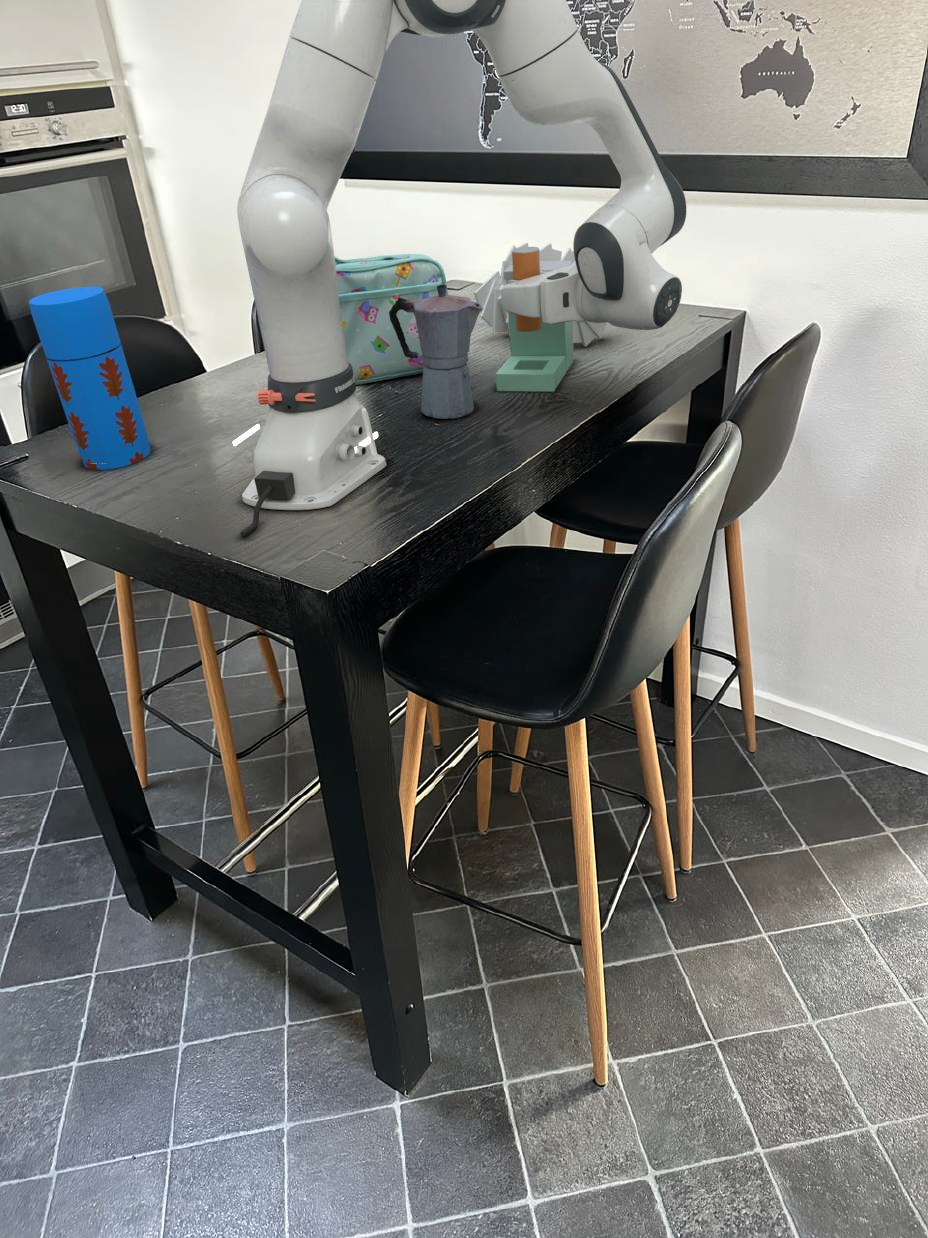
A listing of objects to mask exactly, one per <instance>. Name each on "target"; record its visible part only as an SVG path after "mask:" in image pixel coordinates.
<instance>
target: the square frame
mask: <svg viewBox="0 0 928 1238" xmlns="http://www.w3.org/2000/svg"><path fill="white" fill-rule="evenodd" d="M566 373H567V372H566V356H511V355H510V356H509V357H508V358H507V360H505V362H504V363H503V364H502V365H501V367H500V368H499V369H498V370H497V371H496V373H495V385H496V387H495V388H496V392H539V393H540V392H542V393H544V392H545V393H546V392H549V393H551V392H553V393H554V392H555V391H556V389H557V387H558V386H559V385H560V383H561V381H562V380H563V378H564V377H565V375H566Z"/></svg>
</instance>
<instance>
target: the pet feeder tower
mask: <svg viewBox="0 0 928 1238" xmlns="http://www.w3.org/2000/svg"><path fill="white" fill-rule="evenodd" d="M572 263H573V260H571V261H540V271H543V272H549V271H553V270H556V269H560V268H563V267H566V266H570V265H571V264H572ZM512 279H513V265H512V264H511V265H510V266H509V267H508V268H507V269H506V270H505V271H504V280H506V284H507V282H508V281H509V280H512ZM508 317H509V333H510V336H509V347H510V348H509V349H510V356H566V373H567V372H568V371H569V369H570V367H571V366H572V364H573V362H574V360H575V359H574V343H573V321H568V322H561V323H554V324H547V323H543V322H542V328H541V329H540V330H537V331H531V332H521V331H517V330H516V319H515V314H514V313H510V312H508Z"/></svg>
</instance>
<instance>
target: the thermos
mask: <svg viewBox="0 0 928 1238" xmlns="http://www.w3.org/2000/svg"><path fill="white" fill-rule="evenodd" d="M28 304H29V310H30V314H31V316H32V320H33V323H34V325H35V329H36V331H37V334H38V337H39V340H40V343H41V344H40V345H41V346H42V349H43V352H44V355H45V358H46V361H47V364H48V367H49V370H50V373H51V376H52V379H53V382H54V385H55V387H56V390H57V393H58V397H59V400H60V402H61V405H62V408H63V411H64V415H65V418H66V421H67V423H68V426H69V429H70V432H71V435H72V438H73V440H74V443H75V446H76V448H77V451H78V453H79V455H80V458H81V460H82V463H83V465H84V467H85V468H87V469H90V470H94V471H105V470H114V469H119V468H123V467H127V466H130V465H133V464H136V463H138V462H140V461H142V460H144V459H145V458H147V457H148V456H149V455H150V453H151V445H150V441H149V436H148V433H147V427H146V424H145V421H144V417H143V414H142V410H141V408H140V404H139V400H138V397H137V394H136V390H135V387H134V383H133V379H132V377H131V372H130V369H129V365H128V362H127V359H126V356H125V352H124V349H123V345H122V342H121V339H120V335H119V331H118V329H117V325H116V322H115V318H114V314H113V311H112V308H111V304H110V301H109V298H108V297H107V294H106V292H105V289H103V288H102V287H99V286H82V287H71V288H66V289H65V288H64V289H59V290H55V291H50V292H47V293H43V294H40V295H37V296H35V297H33V298H31V299H30V300H28ZM83 460H84V461H86V462H84V461H83ZM87 462H88V463H87ZM89 462H90V463H97V464H90V463H89ZM99 463H100V464H99ZM101 463H107V464H101Z"/></svg>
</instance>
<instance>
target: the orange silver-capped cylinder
mask: <svg viewBox="0 0 928 1238" xmlns="http://www.w3.org/2000/svg"><path fill="white" fill-rule="evenodd" d="M539 250H540V247H538V246H528V247H520V248H517V247H516V249H513V250H512V265H513V279H521V280H523V279H527V278H530V277H533V276H536V275H540V257H539ZM515 319H516V330H517V331H521V332H531V331H537V330H540V329H541V328H542V318H532V317H526V316H522V315H517V314H515Z"/></svg>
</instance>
